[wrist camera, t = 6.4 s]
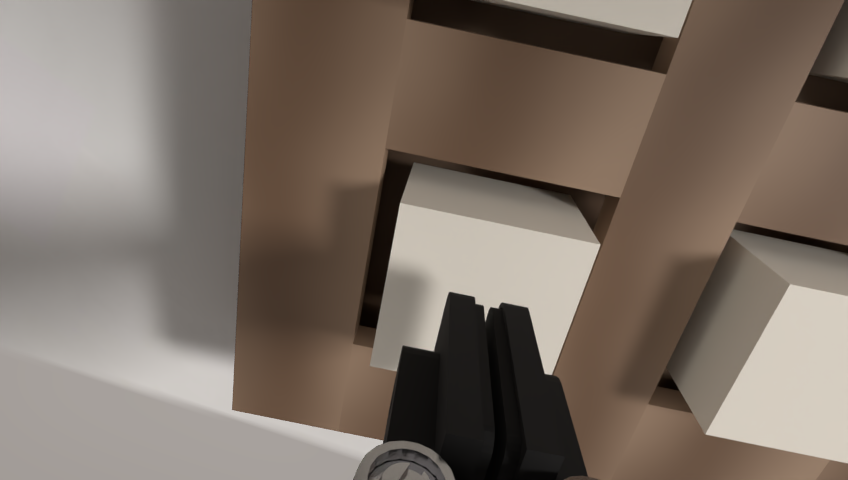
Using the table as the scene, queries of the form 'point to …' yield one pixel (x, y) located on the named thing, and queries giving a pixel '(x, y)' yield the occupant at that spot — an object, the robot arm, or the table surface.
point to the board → (540, 168)
